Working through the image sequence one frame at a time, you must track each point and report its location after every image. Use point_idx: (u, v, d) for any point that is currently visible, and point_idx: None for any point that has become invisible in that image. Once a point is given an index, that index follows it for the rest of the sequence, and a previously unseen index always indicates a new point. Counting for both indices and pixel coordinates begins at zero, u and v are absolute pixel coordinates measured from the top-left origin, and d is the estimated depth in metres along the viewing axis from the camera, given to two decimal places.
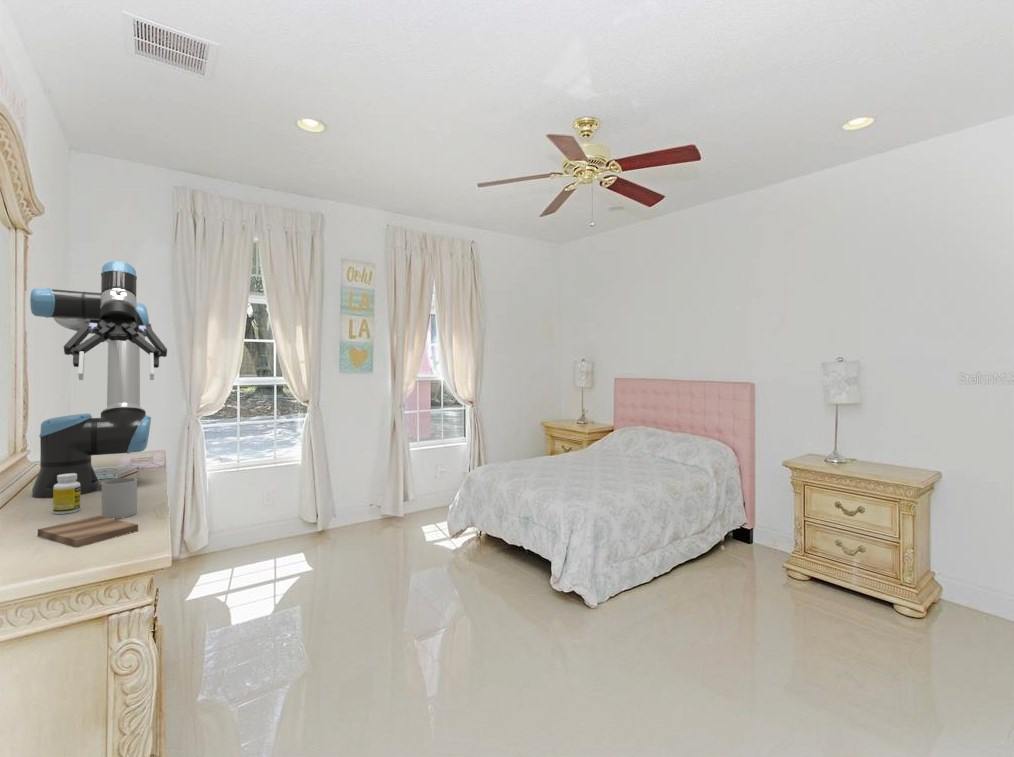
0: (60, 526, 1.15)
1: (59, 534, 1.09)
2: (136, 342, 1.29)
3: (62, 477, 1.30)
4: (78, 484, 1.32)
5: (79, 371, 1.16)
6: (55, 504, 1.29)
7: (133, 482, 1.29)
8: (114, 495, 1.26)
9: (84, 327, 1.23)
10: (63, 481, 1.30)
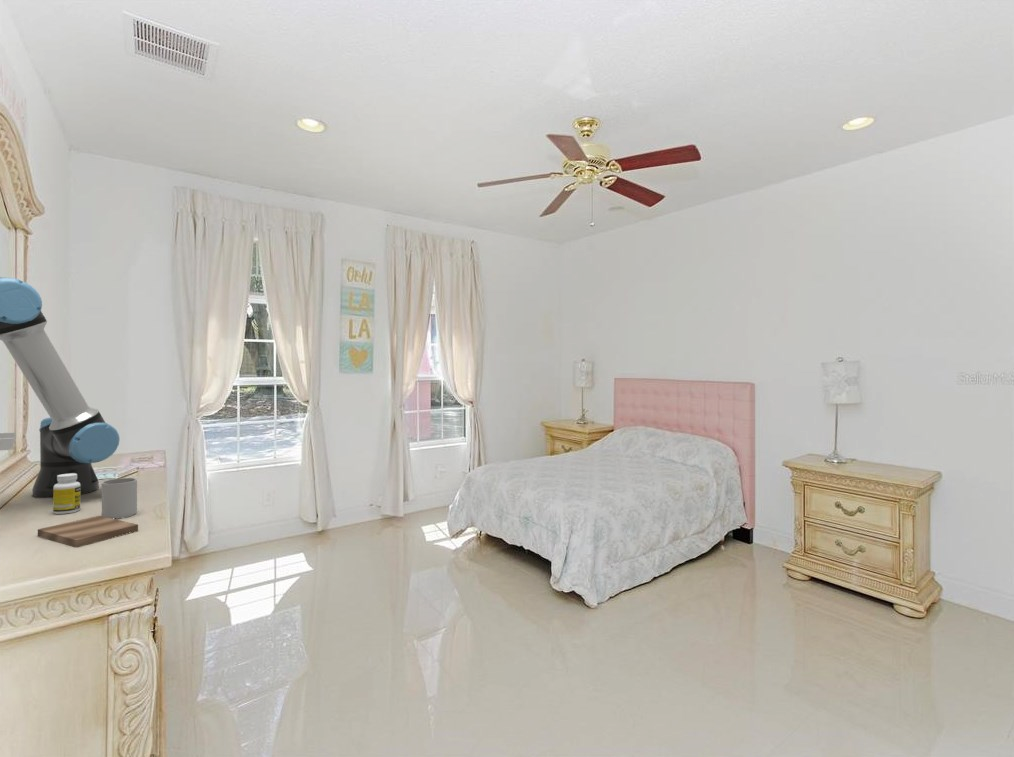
0: (60, 526, 1.15)
1: (59, 534, 1.09)
2: None
3: (62, 477, 1.30)
4: (78, 484, 1.32)
5: None
6: (55, 504, 1.29)
7: (133, 482, 1.29)
8: (114, 495, 1.26)
9: None
10: (63, 481, 1.30)
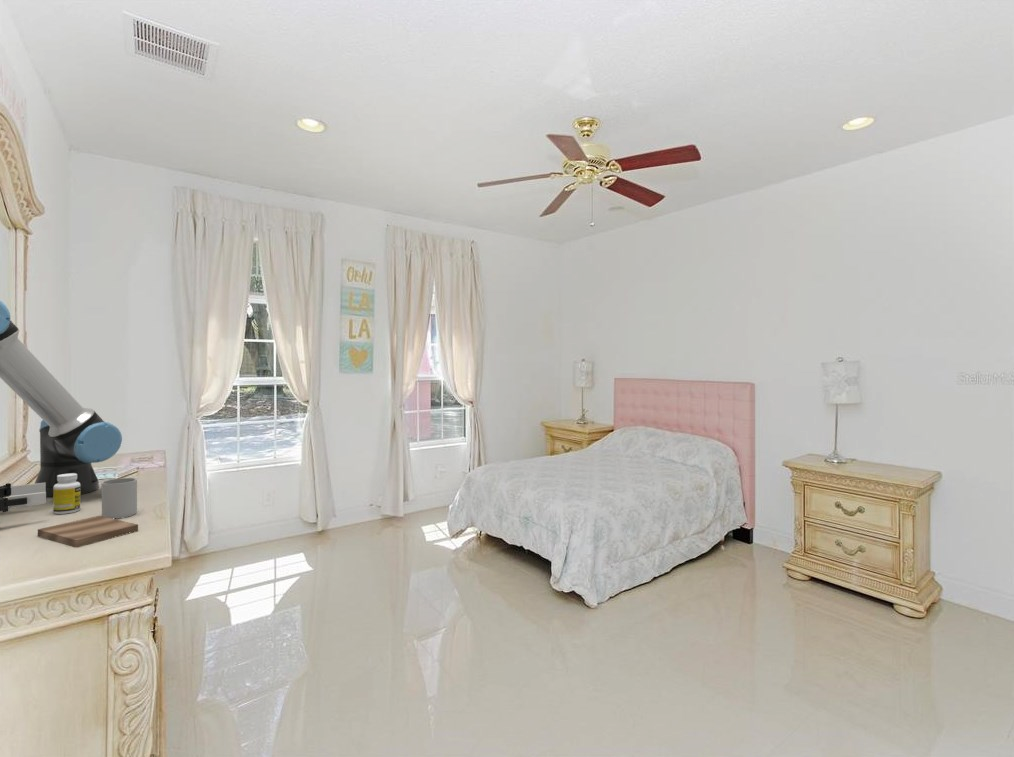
0: (60, 526, 1.15)
1: (59, 534, 1.09)
2: None
3: (62, 477, 1.30)
4: (78, 484, 1.32)
5: None
6: (55, 504, 1.29)
7: (133, 482, 1.29)
8: (114, 495, 1.26)
9: None
10: (63, 481, 1.30)
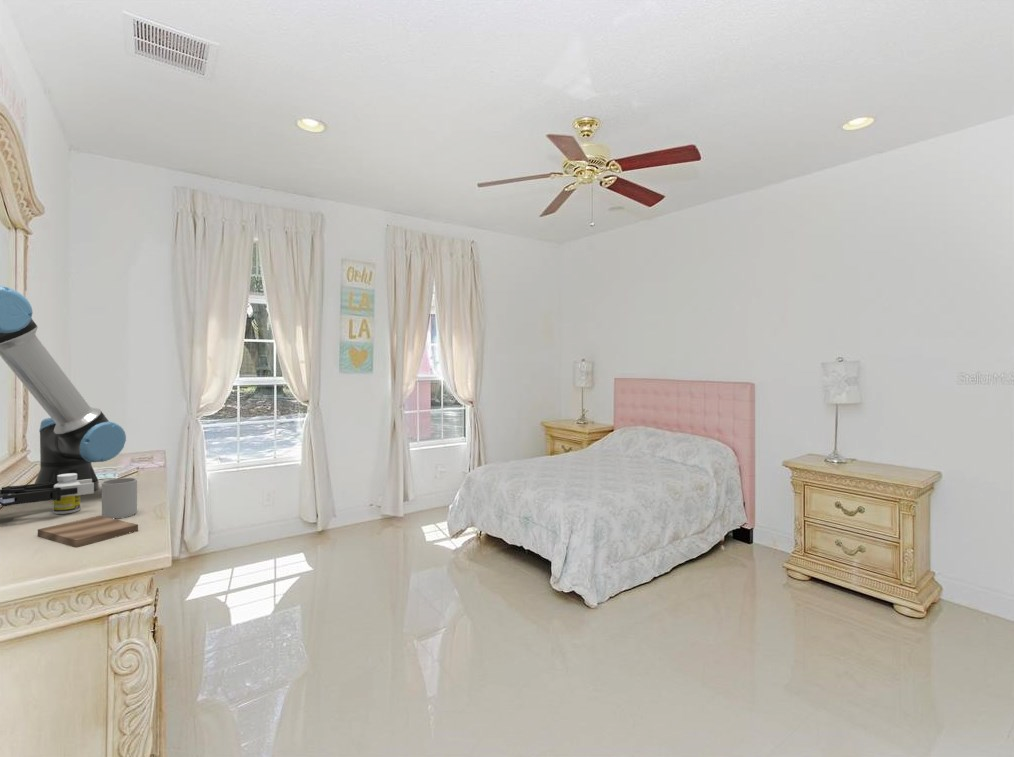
0: (60, 526, 1.15)
1: (59, 534, 1.09)
2: None
3: (62, 477, 1.30)
4: None
5: None
6: (55, 503, 1.29)
7: (133, 482, 1.29)
8: (114, 495, 1.26)
9: None
10: (63, 480, 1.30)
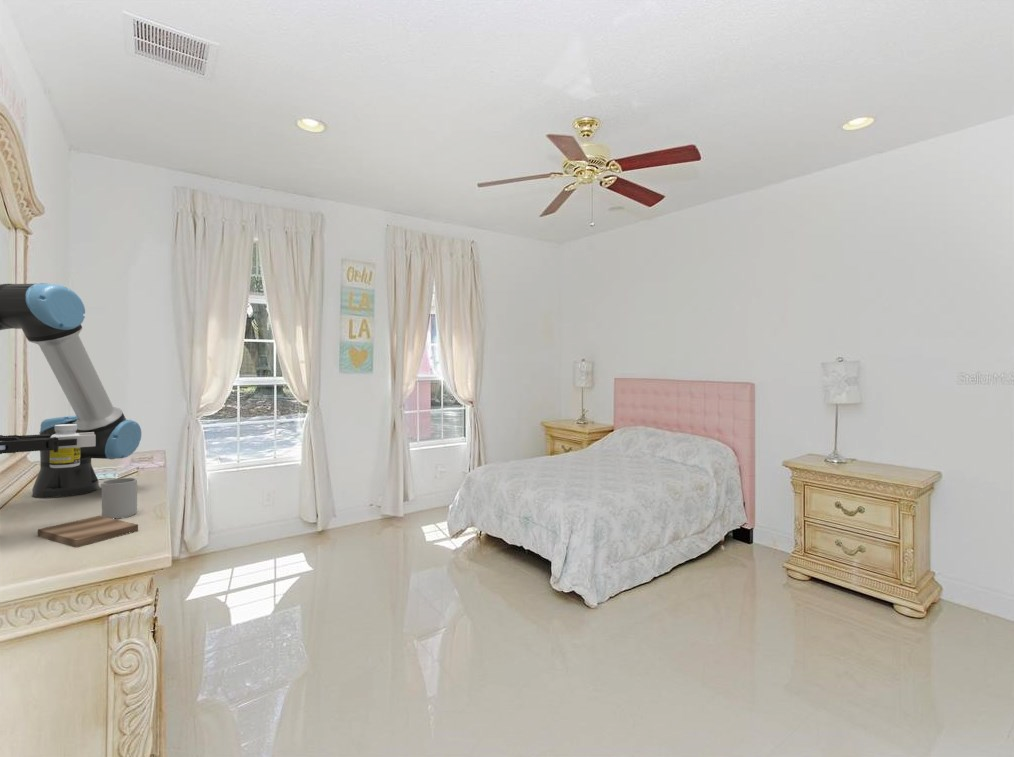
0: (60, 526, 1.15)
1: (59, 534, 1.09)
2: None
3: (60, 427, 1.15)
4: None
5: None
6: (51, 456, 1.15)
7: (133, 482, 1.29)
8: (114, 495, 1.26)
9: None
10: (61, 431, 1.15)
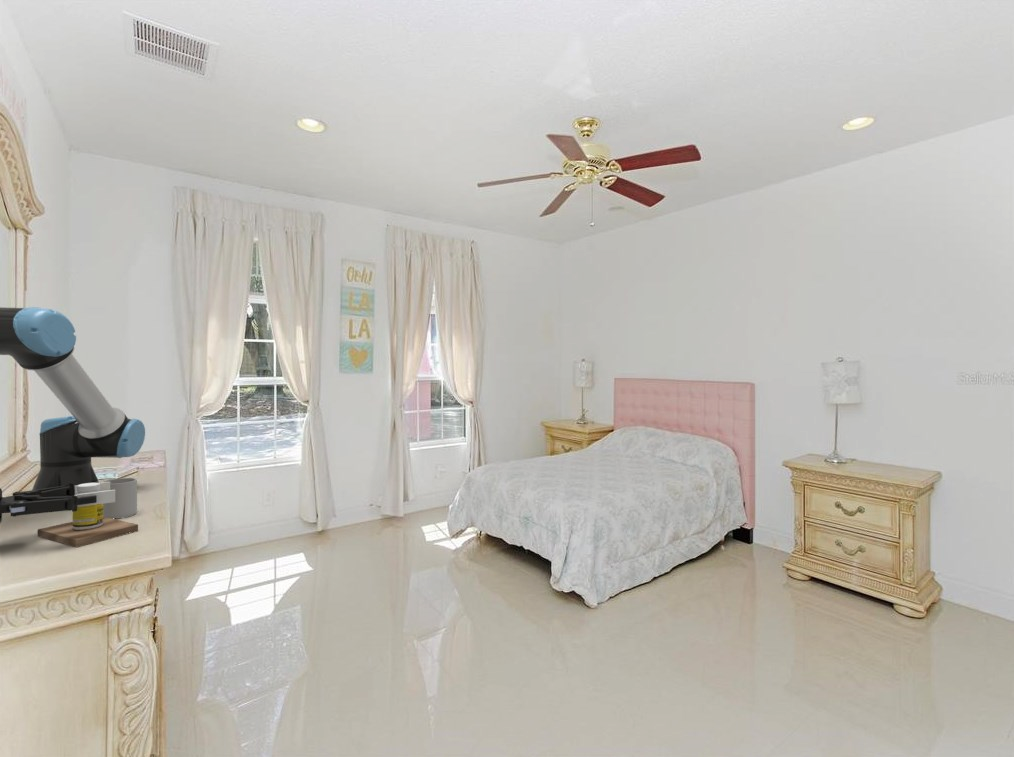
0: (60, 526, 1.15)
1: (59, 534, 1.09)
2: None
3: (83, 487, 1.13)
4: None
5: None
6: (74, 518, 1.12)
7: (133, 482, 1.29)
8: None
9: None
10: (84, 491, 1.13)
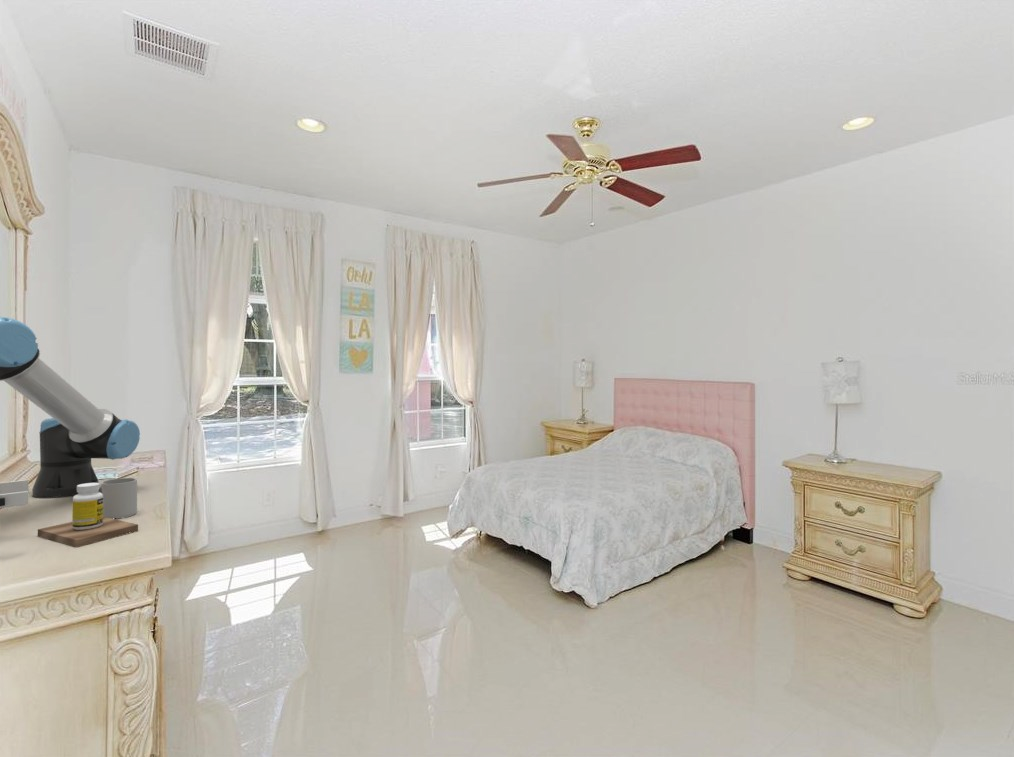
0: (60, 526, 1.15)
1: (59, 534, 1.09)
2: None
3: (83, 487, 1.13)
4: (101, 495, 1.15)
5: None
6: (74, 518, 1.12)
7: (133, 482, 1.29)
8: (114, 495, 1.26)
9: None
10: (84, 491, 1.13)
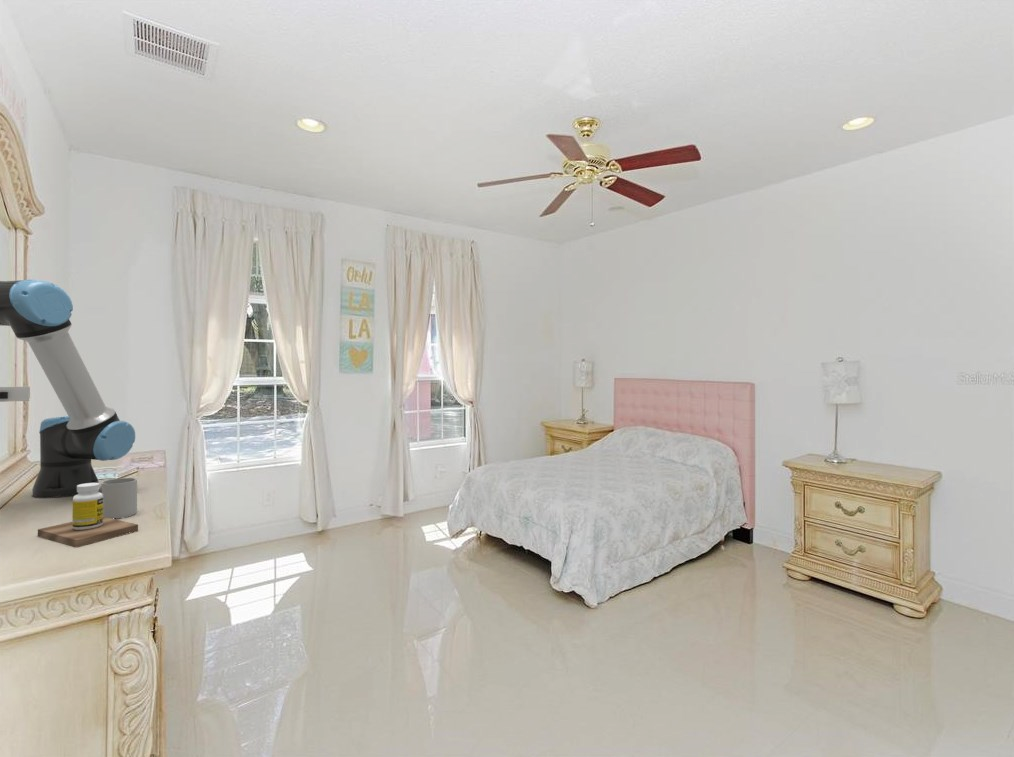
0: (60, 526, 1.15)
1: (59, 534, 1.09)
2: None
3: (83, 487, 1.13)
4: (101, 495, 1.15)
5: None
6: (74, 518, 1.12)
7: (133, 482, 1.29)
8: (114, 495, 1.26)
9: None
10: (84, 491, 1.13)
